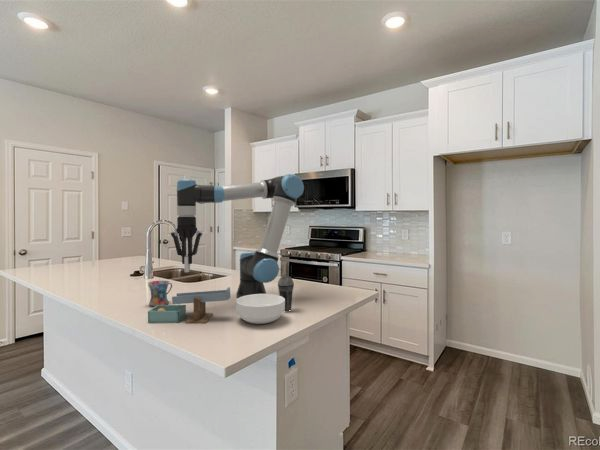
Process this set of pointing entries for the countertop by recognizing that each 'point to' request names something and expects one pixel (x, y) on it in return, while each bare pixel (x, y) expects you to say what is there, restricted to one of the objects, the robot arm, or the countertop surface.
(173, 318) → the tray
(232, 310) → the countertop surface
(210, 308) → the countertop surface
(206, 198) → the robot arm
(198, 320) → the fulcrum
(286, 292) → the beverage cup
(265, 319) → the bowl
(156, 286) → the mug
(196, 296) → the blue-grey ramp
